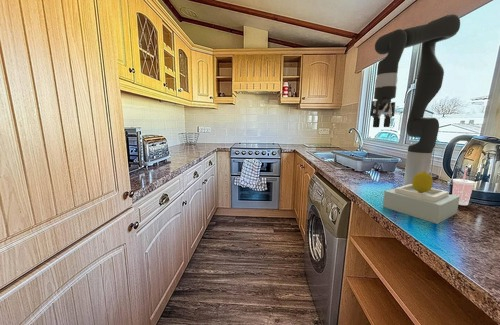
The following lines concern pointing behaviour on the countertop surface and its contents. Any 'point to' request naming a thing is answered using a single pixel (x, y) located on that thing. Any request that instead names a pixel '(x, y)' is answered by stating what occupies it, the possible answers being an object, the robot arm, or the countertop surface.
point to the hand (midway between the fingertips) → (381, 127)
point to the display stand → (422, 203)
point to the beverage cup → (463, 189)
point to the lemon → (422, 182)
